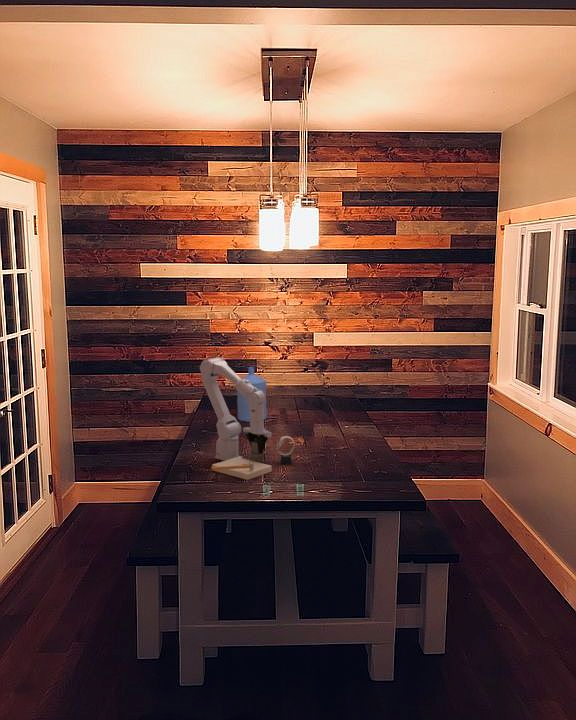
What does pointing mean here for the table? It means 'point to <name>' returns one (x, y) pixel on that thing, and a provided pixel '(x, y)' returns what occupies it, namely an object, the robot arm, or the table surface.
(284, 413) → the table surface
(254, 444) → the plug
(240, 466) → the orange long bar
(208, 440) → the table surface
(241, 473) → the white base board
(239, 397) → the water jug
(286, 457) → the watch
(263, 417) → the robot arm
